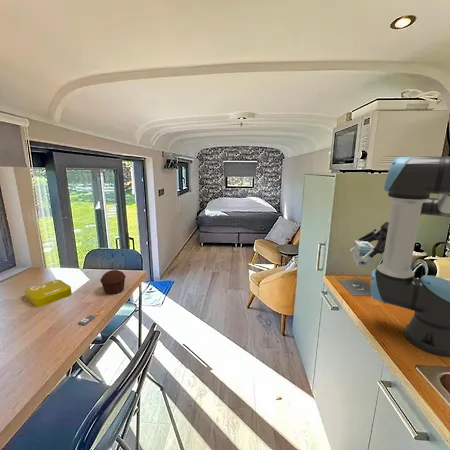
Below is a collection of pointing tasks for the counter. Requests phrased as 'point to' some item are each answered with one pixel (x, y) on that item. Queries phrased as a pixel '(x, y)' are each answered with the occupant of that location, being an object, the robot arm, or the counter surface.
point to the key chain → (88, 319)
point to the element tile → (47, 293)
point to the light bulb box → (362, 253)
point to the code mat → (356, 287)
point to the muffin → (113, 282)
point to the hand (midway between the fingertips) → (357, 256)
